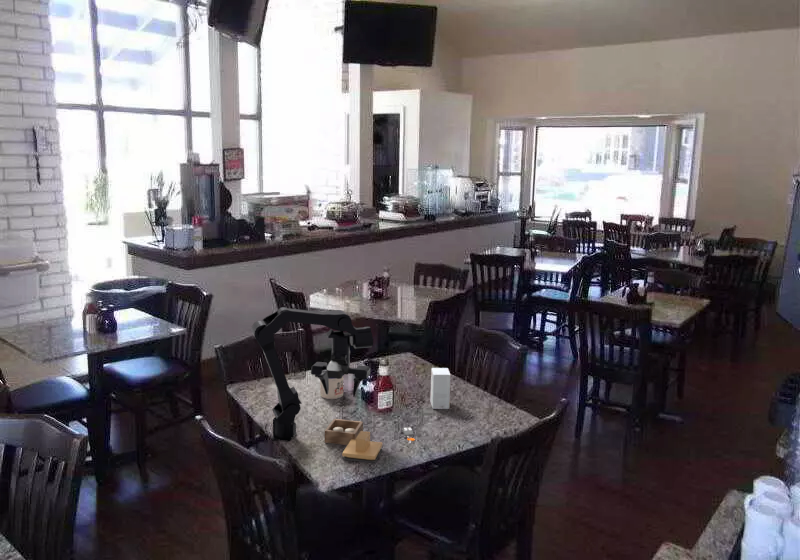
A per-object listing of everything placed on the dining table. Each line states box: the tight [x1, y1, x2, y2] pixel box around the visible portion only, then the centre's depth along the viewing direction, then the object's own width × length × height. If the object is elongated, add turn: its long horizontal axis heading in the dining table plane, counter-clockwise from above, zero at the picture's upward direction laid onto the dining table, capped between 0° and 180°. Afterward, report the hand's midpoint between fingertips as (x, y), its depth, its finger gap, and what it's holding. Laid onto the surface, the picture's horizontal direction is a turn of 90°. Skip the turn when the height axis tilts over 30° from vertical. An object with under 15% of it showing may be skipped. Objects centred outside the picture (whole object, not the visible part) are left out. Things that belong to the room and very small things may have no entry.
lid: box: [341, 430, 383, 460], centre depth 205 cm, size 10×10×6 cm
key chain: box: [401, 426, 416, 444], centre depth 218 cm, size 13×4×2 cm, turn 10°
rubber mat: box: [342, 448, 383, 464], centre depth 205 cm, size 10×9×1 cm
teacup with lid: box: [319, 375, 344, 400], centre depth 255 cm, size 12×9×12 cm
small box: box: [430, 367, 452, 410], centre depth 246 cm, size 8×6×13 cm
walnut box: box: [324, 418, 364, 446], centre depth 217 cm, size 10×10×4 cm
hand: (340, 395), depth 221 cm, fingers open, 9 cm apart
